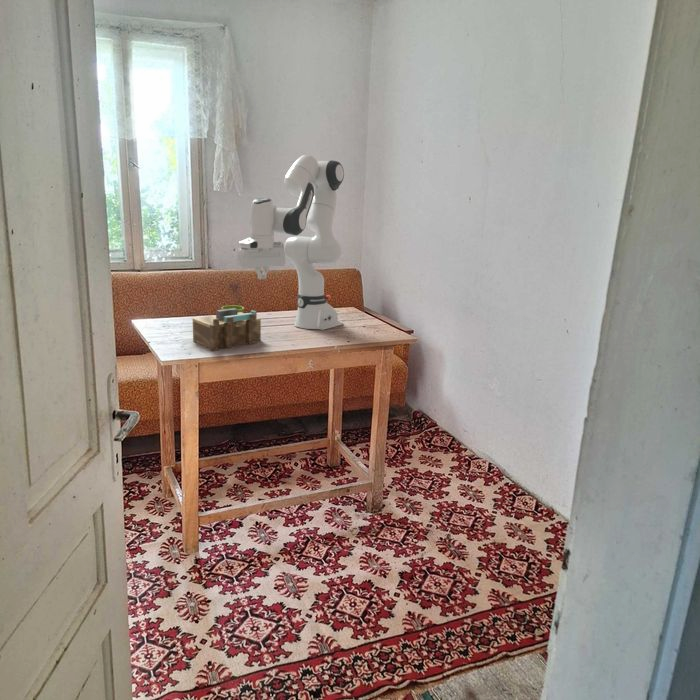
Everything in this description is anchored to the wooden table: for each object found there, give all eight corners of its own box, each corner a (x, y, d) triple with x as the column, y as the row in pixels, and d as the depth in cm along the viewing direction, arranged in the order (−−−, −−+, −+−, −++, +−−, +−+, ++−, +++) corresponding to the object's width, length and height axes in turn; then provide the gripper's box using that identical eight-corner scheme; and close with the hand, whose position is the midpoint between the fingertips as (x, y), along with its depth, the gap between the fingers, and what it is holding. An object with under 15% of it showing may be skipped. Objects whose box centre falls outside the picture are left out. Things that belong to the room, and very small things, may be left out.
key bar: (253, 317, 234) (253, 310, 233) (256, 318, 232) (256, 311, 231) (223, 321, 225) (223, 314, 224) (226, 322, 223) (226, 315, 222)
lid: (241, 316, 247) (240, 303, 245) (265, 324, 235) (265, 311, 234) (192, 323, 232) (192, 309, 231) (215, 332, 220) (215, 318, 219)
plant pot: (244, 329, 255) (244, 309, 253) (221, 329, 253) (221, 309, 251) (243, 324, 264) (243, 305, 261) (221, 324, 262) (221, 305, 260)
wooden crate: (241, 333, 249) (240, 304, 245) (266, 342, 236) (266, 312, 233) (190, 341, 233) (189, 310, 230) (214, 351, 221) (214, 319, 218)
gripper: (279, 240, 236) (278, 275, 240) (234, 242, 223) (235, 279, 226) (289, 242, 232) (288, 277, 236) (244, 244, 218) (244, 282, 222)
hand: (261, 278), depth 231 cm, fingers closed
